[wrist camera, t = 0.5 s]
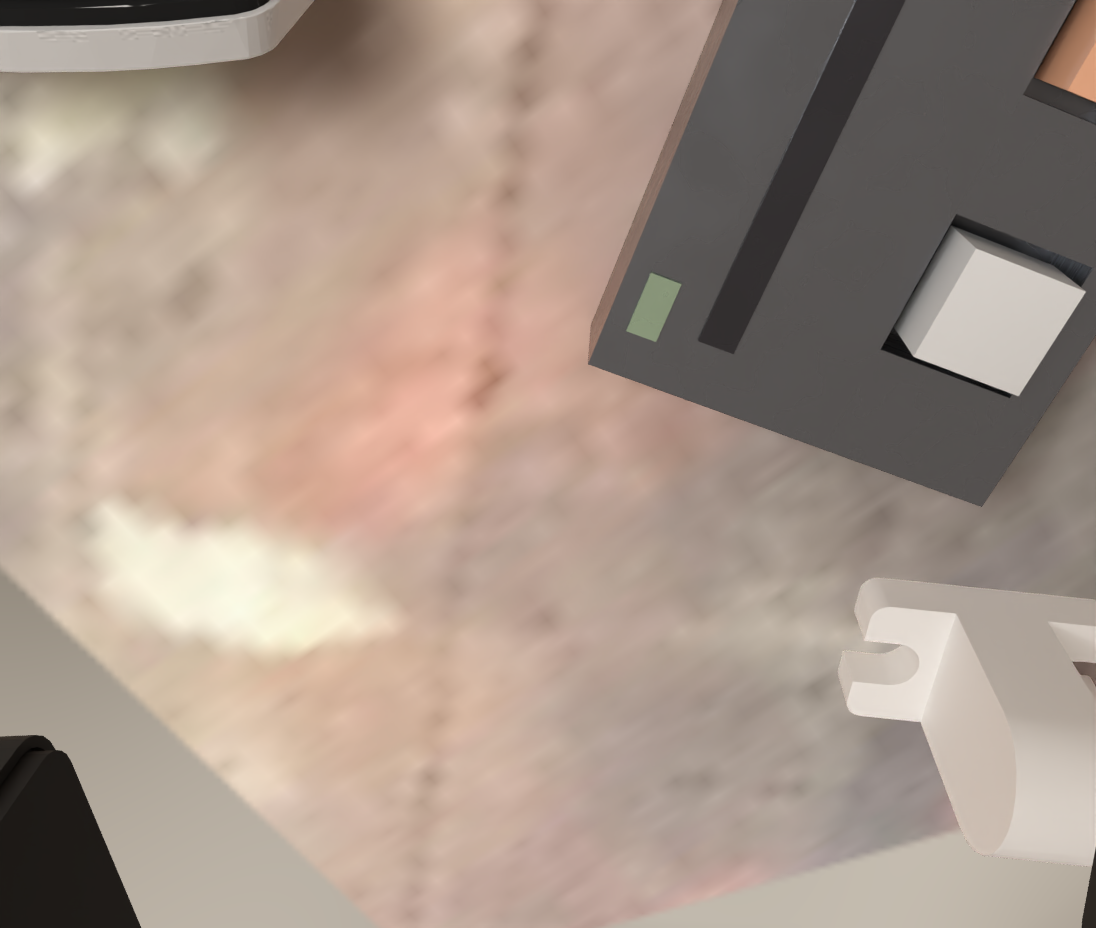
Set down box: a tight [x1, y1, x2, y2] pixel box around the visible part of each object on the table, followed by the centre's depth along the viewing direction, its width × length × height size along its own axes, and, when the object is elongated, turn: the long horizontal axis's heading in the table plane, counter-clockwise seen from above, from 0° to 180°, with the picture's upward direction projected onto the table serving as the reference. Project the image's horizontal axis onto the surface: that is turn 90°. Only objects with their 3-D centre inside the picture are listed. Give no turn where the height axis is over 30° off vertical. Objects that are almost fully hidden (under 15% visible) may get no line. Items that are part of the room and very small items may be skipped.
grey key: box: [894, 225, 1086, 396], centre depth 31 cm, size 4×4×2 cm
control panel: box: [588, 0, 1096, 507], centre depth 30 cm, size 20×14×4 cm
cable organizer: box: [838, 578, 1096, 867], centre depth 37 cm, size 5×10×10 cm, turn 85°
